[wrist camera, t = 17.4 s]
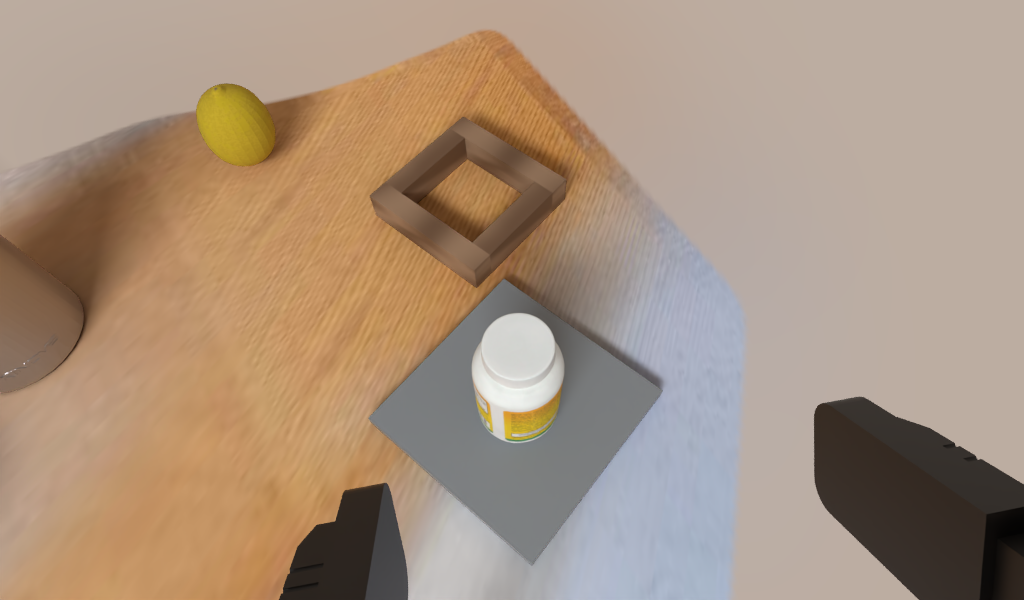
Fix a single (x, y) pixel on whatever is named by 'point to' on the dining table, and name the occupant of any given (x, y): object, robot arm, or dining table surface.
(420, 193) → the walnut holder
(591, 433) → the slate board
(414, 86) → the dining table surface
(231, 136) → the lemon
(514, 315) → the supplement bottle
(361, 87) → the dining table surface
